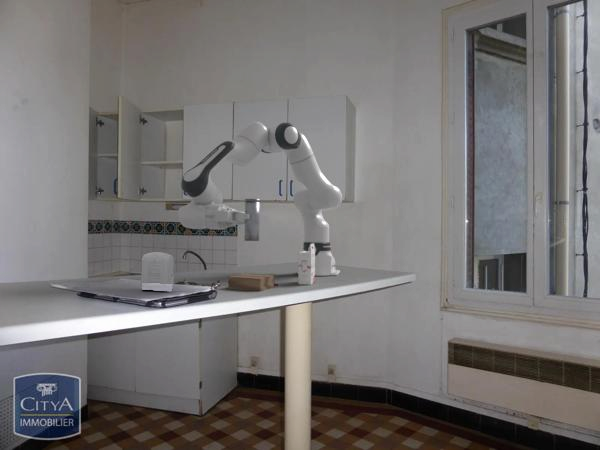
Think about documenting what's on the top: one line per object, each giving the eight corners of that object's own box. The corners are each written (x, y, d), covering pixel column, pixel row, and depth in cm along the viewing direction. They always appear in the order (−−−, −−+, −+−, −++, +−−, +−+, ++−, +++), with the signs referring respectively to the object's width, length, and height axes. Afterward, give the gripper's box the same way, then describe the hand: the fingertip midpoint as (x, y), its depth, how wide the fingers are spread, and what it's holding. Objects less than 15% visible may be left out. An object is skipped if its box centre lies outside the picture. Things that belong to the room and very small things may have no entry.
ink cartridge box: (302, 281, 164) (302, 243, 164) (315, 282, 163) (315, 243, 163) (297, 284, 156) (298, 243, 156) (311, 285, 155) (311, 244, 155)
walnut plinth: (243, 285, 152) (243, 273, 152) (273, 287, 148) (273, 275, 148) (228, 288, 143) (228, 276, 143) (260, 291, 138) (260, 278, 138)
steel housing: (248, 240, 149) (249, 199, 149) (262, 240, 147) (262, 199, 147) (241, 240, 144) (241, 198, 144) (254, 241, 142) (255, 198, 142)
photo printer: (175, 290, 137) (176, 252, 137) (168, 292, 133) (169, 252, 133) (146, 289, 139) (146, 251, 139) (138, 291, 135) (139, 252, 135)
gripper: (202, 206, 141) (239, 206, 136) (234, 209, 160) (267, 209, 154) (201, 225, 141) (238, 226, 135) (234, 226, 160) (267, 226, 154)
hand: (254, 216), depth 145 cm, fingers closed on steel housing, 5 cm apart
